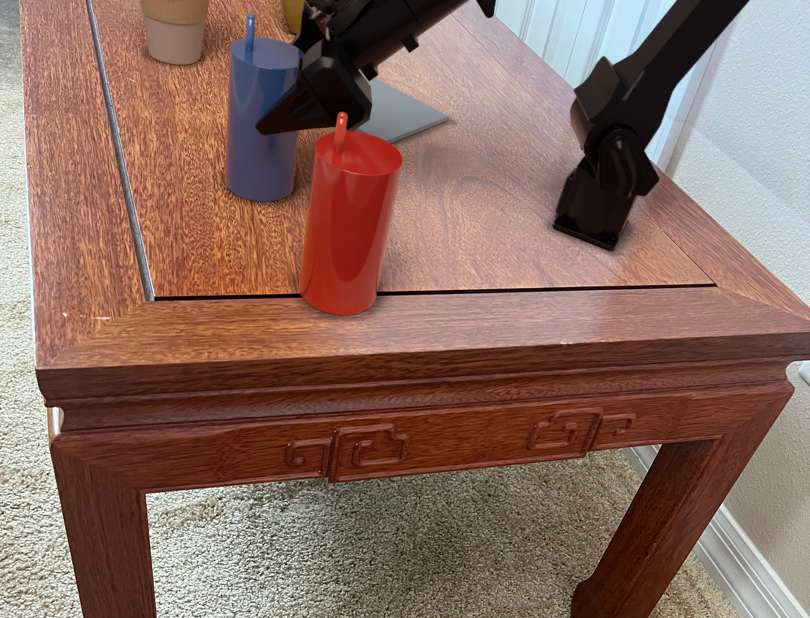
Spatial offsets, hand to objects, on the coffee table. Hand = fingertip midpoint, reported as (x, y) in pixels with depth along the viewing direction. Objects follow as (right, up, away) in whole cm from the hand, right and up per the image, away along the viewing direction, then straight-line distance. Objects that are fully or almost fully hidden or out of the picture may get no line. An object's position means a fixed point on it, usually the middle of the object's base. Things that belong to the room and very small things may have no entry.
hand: (261, 106), depth 72 cm
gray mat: (+9, +7, +22) cm, 24 cm away
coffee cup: (-14, +13, +23) cm, 30 cm away
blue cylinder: (-1, -6, +5) cm, 8 cm away
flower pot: (0, +22, +36) cm, 42 cm away
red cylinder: (+7, -17, -5) cm, 19 cm away
